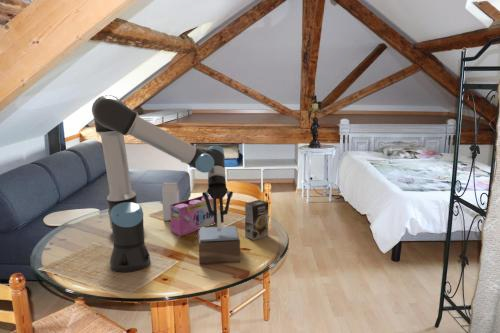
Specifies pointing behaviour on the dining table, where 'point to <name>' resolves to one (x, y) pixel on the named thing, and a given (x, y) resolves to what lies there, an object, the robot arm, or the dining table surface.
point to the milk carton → (169, 198)
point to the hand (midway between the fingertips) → (219, 229)
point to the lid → (218, 234)
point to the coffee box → (256, 219)
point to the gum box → (190, 215)
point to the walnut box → (219, 251)
